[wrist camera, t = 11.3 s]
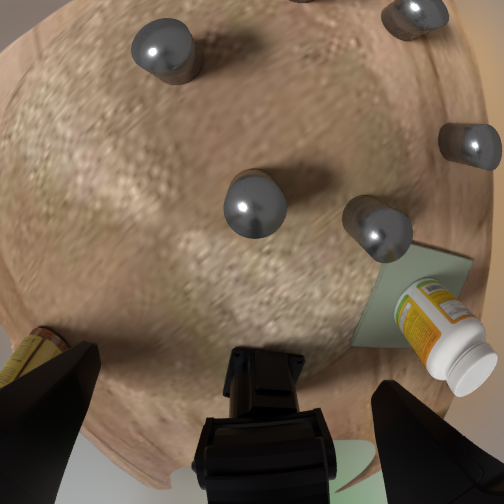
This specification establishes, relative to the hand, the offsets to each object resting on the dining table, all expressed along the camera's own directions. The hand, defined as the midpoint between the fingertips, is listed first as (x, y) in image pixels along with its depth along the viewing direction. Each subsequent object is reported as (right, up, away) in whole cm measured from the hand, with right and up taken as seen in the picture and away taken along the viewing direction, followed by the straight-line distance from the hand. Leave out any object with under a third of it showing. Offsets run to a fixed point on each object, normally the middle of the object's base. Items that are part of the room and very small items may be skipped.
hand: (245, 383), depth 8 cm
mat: (+15, -1, +15) cm, 21 cm away
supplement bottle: (+15, -1, +14) cm, 21 cm away
